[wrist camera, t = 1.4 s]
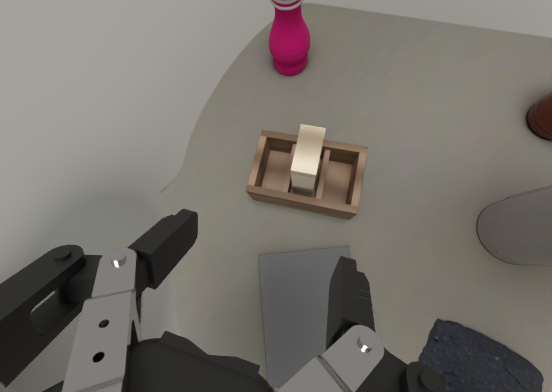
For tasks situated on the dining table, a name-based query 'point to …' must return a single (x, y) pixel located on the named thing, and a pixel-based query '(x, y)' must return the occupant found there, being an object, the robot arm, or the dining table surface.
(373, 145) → the dining table surface
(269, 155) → the walnut box
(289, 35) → the pepper mill
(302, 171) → the ash block
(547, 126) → the mug
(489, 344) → the dark slate chunk
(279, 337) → the rubber mat
